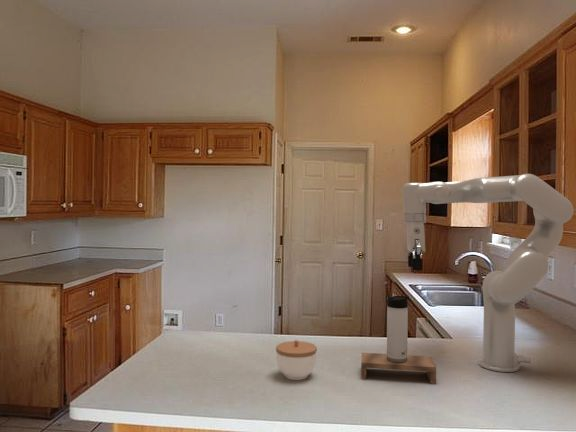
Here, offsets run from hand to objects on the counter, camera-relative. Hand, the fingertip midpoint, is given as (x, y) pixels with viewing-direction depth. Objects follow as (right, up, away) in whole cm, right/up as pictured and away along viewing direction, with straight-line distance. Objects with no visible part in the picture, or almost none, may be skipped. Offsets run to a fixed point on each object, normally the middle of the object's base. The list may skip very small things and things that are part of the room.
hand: (415, 268), depth 157 cm
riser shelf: (-10, -32, -14) cm, 36 cm away
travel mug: (-9, -27, -14) cm, 32 cm away
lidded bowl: (-41, -32, -15) cm, 54 cm away
